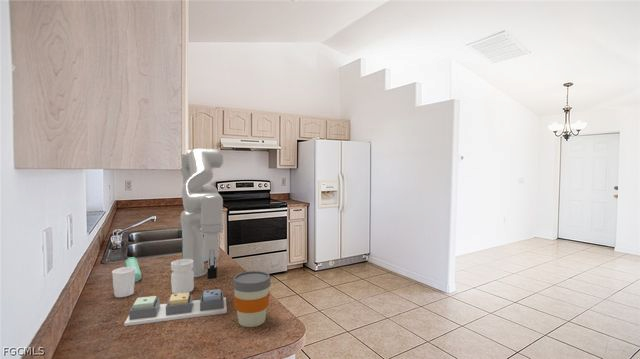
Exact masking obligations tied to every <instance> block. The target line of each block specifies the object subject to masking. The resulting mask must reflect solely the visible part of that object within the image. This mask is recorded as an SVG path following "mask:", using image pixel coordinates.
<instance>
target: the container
mask: <svg viewBox="0 0 640 359" xmlns="http://www.w3.org/2000/svg"><path fill="white" fill-rule="evenodd" d="M138 262H139V260H138V259H137V258H136V257H135V256H132V257H128V258H127V259H126V260H125V261H124V267H134V268H135V283H137V282H140V280H141V279H142V271H141V270H140V266H139V264H138Z"/></svg>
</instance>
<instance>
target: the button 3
mask: <svg viewBox="0 0 640 359" xmlns="http://www.w3.org/2000/svg"><path fill="white" fill-rule="evenodd" d="M221 292H222V291H221V288H219V289H208V290H203V293H202V294H203V302H205V301H214V300H221Z"/></svg>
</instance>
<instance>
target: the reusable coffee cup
mask: <svg viewBox="0 0 640 359" xmlns="http://www.w3.org/2000/svg"><path fill="white" fill-rule="evenodd" d="M270 287H271V276H270V274H269V272H265V271H260V270H259V271H258V270H253V271H252V270H251V271H249V270H248V271H244V272H240V273H238V274H236V275H235V276H233V282H232V289H233V291H234V293H233V301H234V308H235V310H236V313H237V314H236V315H237V321H238V324H239V326H241V327H246V328H252V327H253V328H254V327H258V326H260V325H262V324H263V323H264V322H265V321H266V315H267V308H268V307H269V301H270V295H271V292H270Z"/></svg>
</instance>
